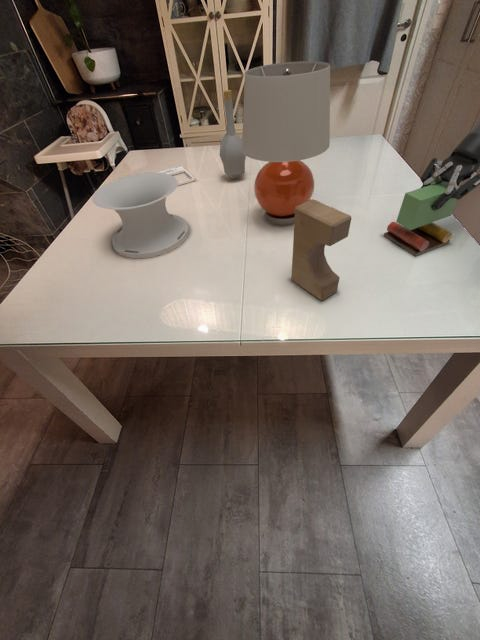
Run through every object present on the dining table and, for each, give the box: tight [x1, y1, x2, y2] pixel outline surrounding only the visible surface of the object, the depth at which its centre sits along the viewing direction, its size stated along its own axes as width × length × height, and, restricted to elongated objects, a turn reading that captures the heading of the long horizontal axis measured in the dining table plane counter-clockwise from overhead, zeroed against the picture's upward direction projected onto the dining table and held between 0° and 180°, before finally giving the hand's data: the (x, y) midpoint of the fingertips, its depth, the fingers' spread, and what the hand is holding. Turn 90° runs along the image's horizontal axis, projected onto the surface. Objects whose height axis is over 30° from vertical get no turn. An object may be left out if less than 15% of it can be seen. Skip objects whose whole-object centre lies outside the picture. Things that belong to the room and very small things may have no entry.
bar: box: [395, 181, 463, 230], centre depth 78 cm, size 5×14×8 cm, turn 114°
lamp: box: [241, 60, 331, 227], centre depth 86 cm, size 25×25×39 cm
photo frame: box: [157, 165, 196, 186], centre depth 131 cm, size 15×1×18 cm
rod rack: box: [383, 221, 453, 257], centre depth 84 cm, size 12×12×4 cm
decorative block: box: [290, 198, 352, 302], centre depth 68 cm, size 11×6×20 cm, turn 34°
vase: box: [91, 171, 190, 259], centre depth 93 cm, size 25×25×16 cm
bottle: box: [219, 89, 247, 180], centre depth 115 cm, size 11×11×30 cm
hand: (424, 204), depth 77 cm, fingers closed on bar, 5 cm apart
